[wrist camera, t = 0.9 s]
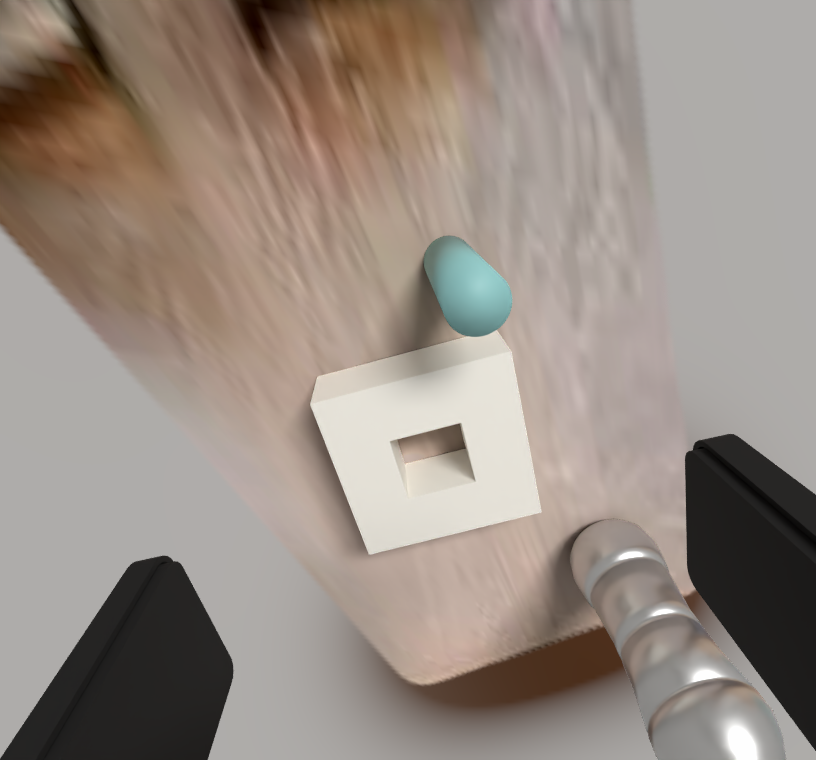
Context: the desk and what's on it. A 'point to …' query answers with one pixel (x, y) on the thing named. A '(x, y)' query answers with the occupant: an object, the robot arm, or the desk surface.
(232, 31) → the desk surface
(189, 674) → the robot arm
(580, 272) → the desk surface
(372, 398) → the hole block
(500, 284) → the peg
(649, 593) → the plastic bottle
